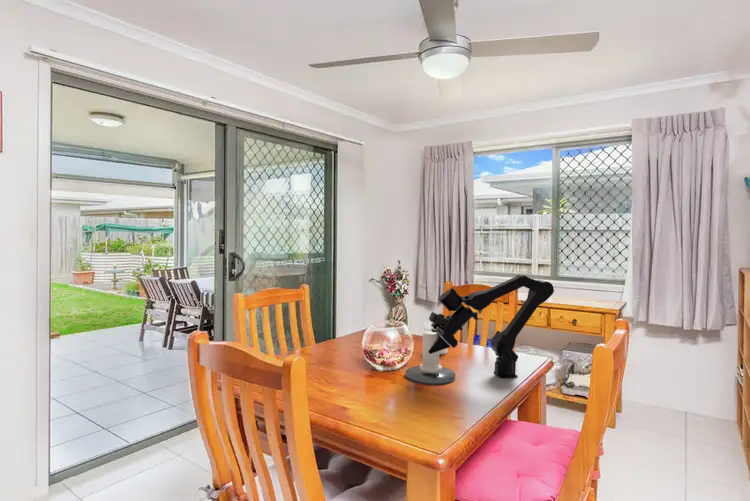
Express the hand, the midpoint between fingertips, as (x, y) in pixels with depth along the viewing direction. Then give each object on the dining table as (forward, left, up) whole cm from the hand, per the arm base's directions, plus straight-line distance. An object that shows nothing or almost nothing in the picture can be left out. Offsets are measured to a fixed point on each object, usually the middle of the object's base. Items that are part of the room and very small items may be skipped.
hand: (427, 350), depth 161 cm
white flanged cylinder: (-1, 0, -7) cm, 7 cm away
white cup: (-15, -30, -10) cm, 35 cm away
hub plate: (-1, 0, -9) cm, 10 cm away
